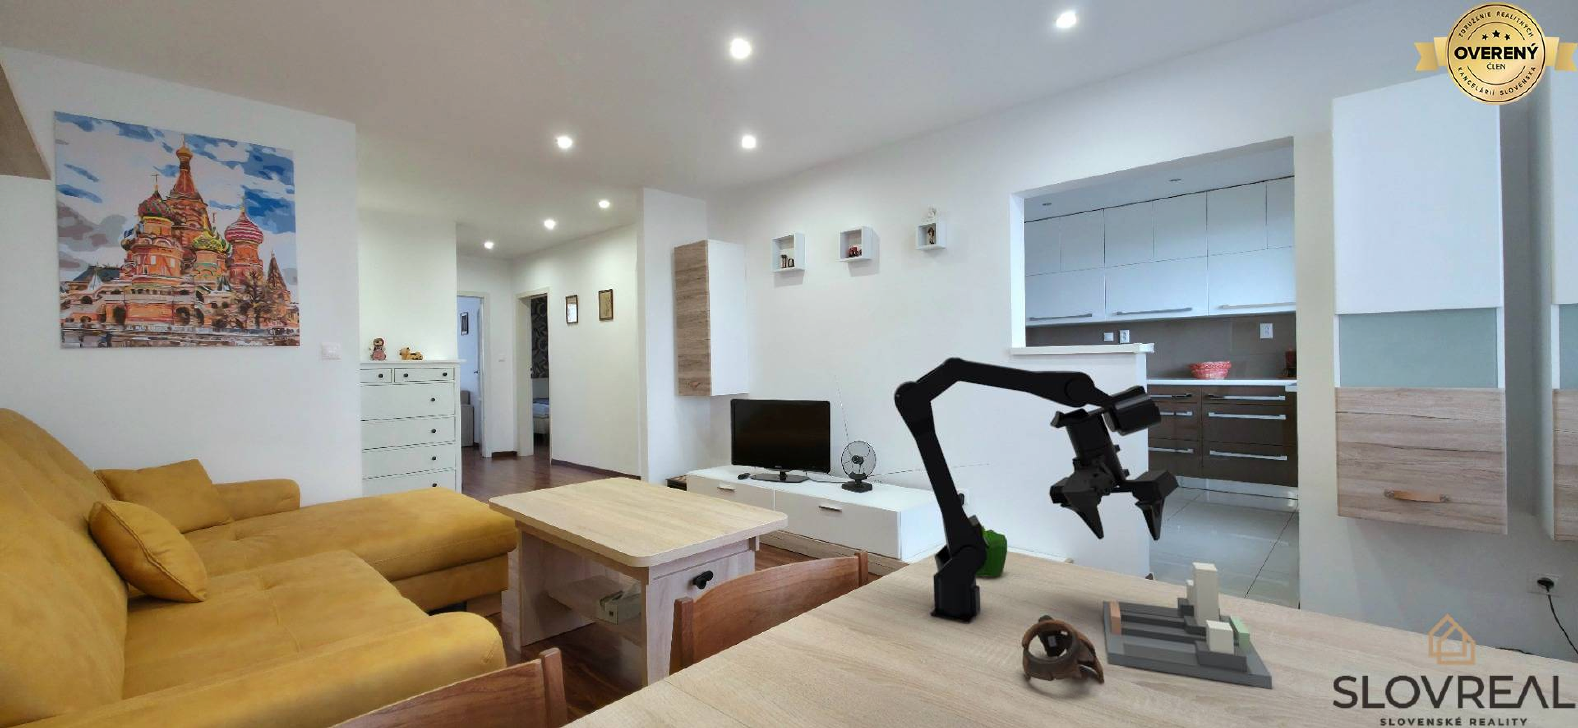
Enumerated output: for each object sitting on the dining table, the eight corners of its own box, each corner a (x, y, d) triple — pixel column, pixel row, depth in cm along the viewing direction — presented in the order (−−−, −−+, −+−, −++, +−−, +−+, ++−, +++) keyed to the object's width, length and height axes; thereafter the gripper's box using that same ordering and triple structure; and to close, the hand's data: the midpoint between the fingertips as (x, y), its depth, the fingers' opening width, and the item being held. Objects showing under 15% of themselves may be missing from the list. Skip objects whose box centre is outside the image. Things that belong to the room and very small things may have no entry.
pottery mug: (1124, 698, 76) (1099, 649, 74) (1053, 728, 77) (1027, 681, 75) (1080, 632, 88) (1057, 588, 86) (1019, 659, 89) (995, 616, 87)
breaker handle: (1188, 639, 86) (1185, 568, 86) (1184, 629, 89) (1182, 560, 89) (1231, 645, 84) (1228, 572, 84) (1225, 634, 87) (1223, 564, 87)
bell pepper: (1005, 567, 123) (1003, 517, 123) (1010, 582, 115) (1008, 528, 115) (962, 565, 125) (960, 516, 125) (963, 580, 117) (962, 527, 117)
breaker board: (1108, 664, 83) (1106, 616, 83) (1102, 609, 101) (1101, 569, 101) (1272, 690, 76) (1271, 637, 76) (1235, 625, 94) (1234, 583, 94)
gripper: (1015, 467, 102) (1049, 558, 101) (1122, 457, 86) (1163, 564, 85) (1054, 445, 108) (1086, 530, 107) (1160, 432, 92) (1199, 531, 91)
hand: (1128, 538), depth 97 cm, fingers open, 9 cm apart
